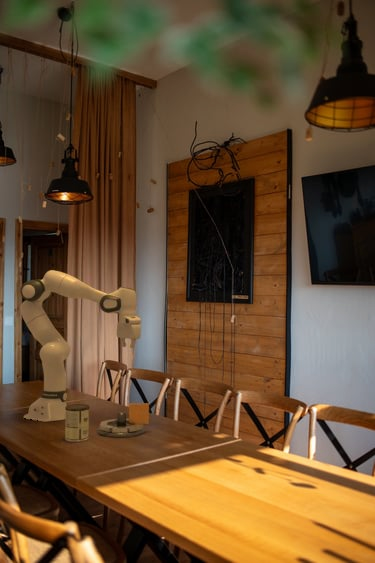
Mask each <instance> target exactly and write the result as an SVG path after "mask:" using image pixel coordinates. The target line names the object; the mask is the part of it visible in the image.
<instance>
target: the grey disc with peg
mask: <svg viewBox="0 0 375 563" xmlns="http://www.w3.org/2000/svg"><path fill="white" fill-rule="evenodd" d="M116 419H117V424H114V425H110V426H113V427H128V426H132V425H130V424H126V419H127V412H126V411H118V412H116ZM96 433H97V435H99V436H102V437H107V438H114V439H117V438H119V439H122V438H124V439H125V438H134V437H137V436H138V437H139V436H141V435H144V434H145V433H146V427H145V426H144V424H142V429H141V430H137V431H133V432H127V433H112V432H107V431H103V430H100V425H99V426H98V427H97V429H96Z"/></svg>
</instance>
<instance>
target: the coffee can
mask: <svg viewBox="0 0 375 563" xmlns="http://www.w3.org/2000/svg"><path fill="white" fill-rule="evenodd" d="M65 409H66V417H65V419H64V422H65V425H64V427H65V429H64V430H65V434H64V435H65V436H64V437H65V438H64V440H65V441H67V442H71V443H72V442H74V443H75V442H76V443H78V442H85V441H87V440H90V437H89V436H90V434H89V433H90V432H89V431H90V429H89V428H90V405H89V404H86V403H85V404H84V403H74V404H69V405H68V404H67V406H66V407H65Z"/></svg>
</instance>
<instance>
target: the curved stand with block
mask: <svg viewBox="0 0 375 563" xmlns="http://www.w3.org/2000/svg"><path fill="white" fill-rule="evenodd" d="M128 404H129V405H128V418H126V424H130V425H132V426H128V427H113V426H110V425H114V424H117V418H115V419H114V418H113V419H107V420H102V421H100V424H99V426H100V430H103V431H107V432H112V433H127V432H133V431H137V430H141V429H142V425H149V422H150V421H149V420H150V415H149V414H150V412H149V411H150V403H149V402H148V403H147V402H146V403H145V402H144V403H137V402H136V403H135V402H134V403H133V402H131V403H128Z"/></svg>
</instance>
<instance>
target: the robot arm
mask: <svg viewBox="0 0 375 563" xmlns="http://www.w3.org/2000/svg"><path fill="white" fill-rule="evenodd" d="M19 292H20V296H21V297H22V299H24V301H22V303H21V304H20V306H19V311H20V314H21V316H22V319H23V320H24V322H25V324H26V327H27V328H28V330H29V331H30V333H31V335H32V337H33V338H34V339H35V340H36V341H37V342H39V344H40V345H41V346H42V347H41V348H40V350H39V357H40V360H41V364H42V365H41V366H42V371H43V390H41V391H39V393H38V395H40V397H38V399H36V400H35V401H34V402H32V403H31V405H30V406H29V408H28V413H26V414H24V415H23V419H24V418H26V420H30V419H32V421H37V420H38V421H39V422H45V423H46V422H53V421H65V417H66V409H65V407H66V406H67V405H68V404H67V401H68V390H67V372H66V368H65V363H64V361H65V360H66V359H68V357H69V356H70V354H71V352H72V349H71V346H70V344H69V342H67V341H66V340H65V338H64V337H63V336H62V335H61V334H60V332H59V331H58V330H57V329H56V328H55V326H54V325H53V323H52V321H51V320H50V318H49V316H48V315H47V313H46V311H45V310H44V308H43V304H45V303H46V301H48V299H49V298H51V296H52V295H53V293H56V294H58V295H60V296H62V297H66V298H70V299H85V300H90V301H92V302H94V303H97V304H99V309H101V311H103V313H106V314H118V323H117V324H116V337H117V338H120V342H121V347H122V348H126V347H127V343H126V339H129V340H130V346H129V348H130V349H135V347H136V343H137V340H140V339H141V336H142V335H141V334H142V326H141V324H142V319H141V318H140V317H139V316H138V313H137V303H138V302H137V294H136V290H135V289H134V288H131V287H126V286H123V287H122V286H120V287H119V288H117V290H114V291H112V292H111V293H107V292H104V291H101V290H99V289H97V288H94V287H92V286H90V285H88V284H86V283H85V282H83V281H81V280H80V279H78V278H77V277H74V276H72V275H70V274H68V273H65V272H62V271H59V270H53V269H51V270H48V271H46V273H45V274H44V276H43V278H42V279H40V278H38V279H32V280H31V279H29V280H28V281H26V282H24V283H23V284H22V285H21V286H20V290H19Z"/></svg>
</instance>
